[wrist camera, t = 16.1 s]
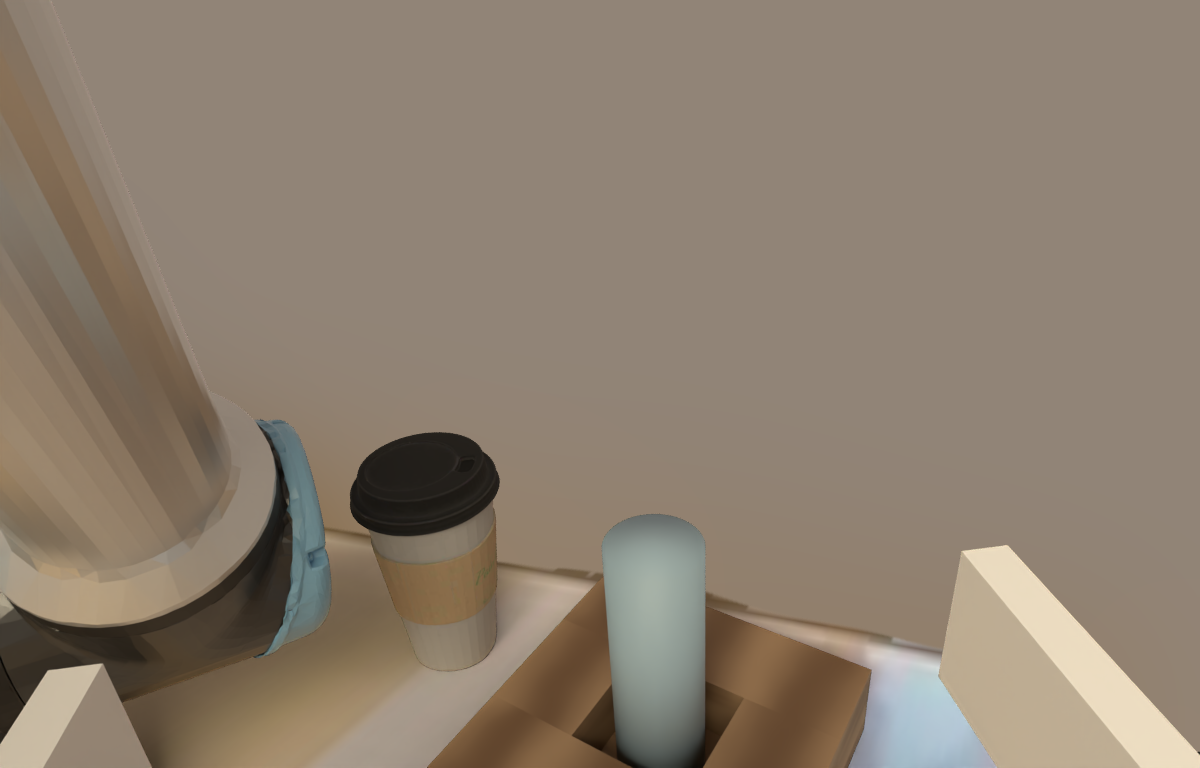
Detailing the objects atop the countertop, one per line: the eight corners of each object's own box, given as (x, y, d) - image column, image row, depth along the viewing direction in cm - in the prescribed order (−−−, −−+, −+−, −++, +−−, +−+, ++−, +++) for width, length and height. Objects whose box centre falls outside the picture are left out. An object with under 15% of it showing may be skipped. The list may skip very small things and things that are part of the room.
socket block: (440, 827, 44) (426, 767, 42) (613, 623, 58) (609, 569, 55) (740, 1025, 35) (743, 962, 33) (863, 729, 48) (871, 669, 46)
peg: (616, 805, 44) (599, 581, 36) (619, 729, 48) (604, 515, 41) (708, 806, 43) (709, 579, 36) (702, 729, 48) (701, 513, 41)
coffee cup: (538, 663, 55) (515, 481, 48) (401, 713, 52) (355, 526, 45) (498, 580, 62) (473, 413, 56) (377, 619, 59) (334, 448, 53)
